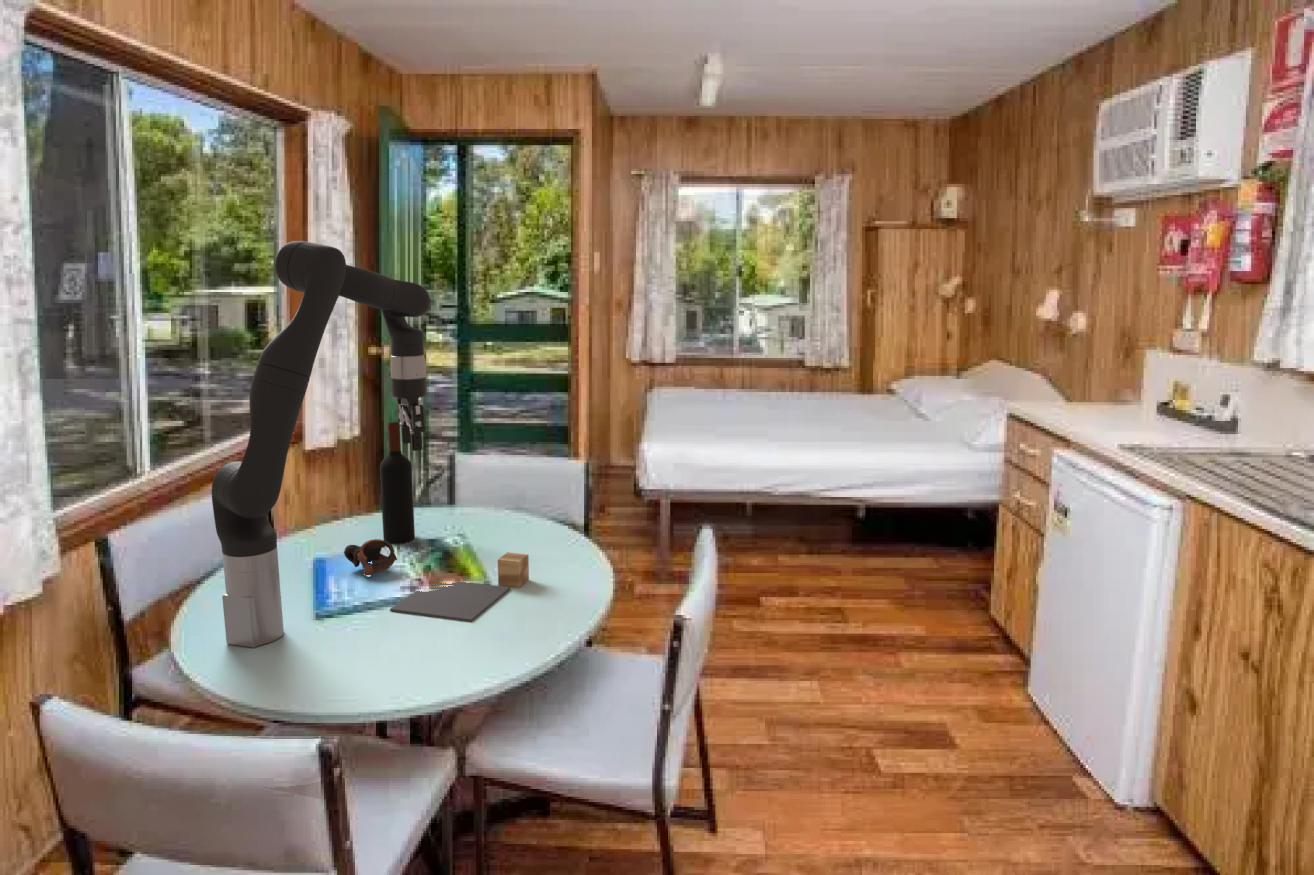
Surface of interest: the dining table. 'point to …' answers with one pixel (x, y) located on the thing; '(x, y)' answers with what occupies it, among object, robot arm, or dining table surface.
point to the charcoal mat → (452, 601)
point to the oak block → (513, 570)
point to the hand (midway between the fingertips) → (411, 446)
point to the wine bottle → (396, 491)
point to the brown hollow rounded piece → (371, 556)
